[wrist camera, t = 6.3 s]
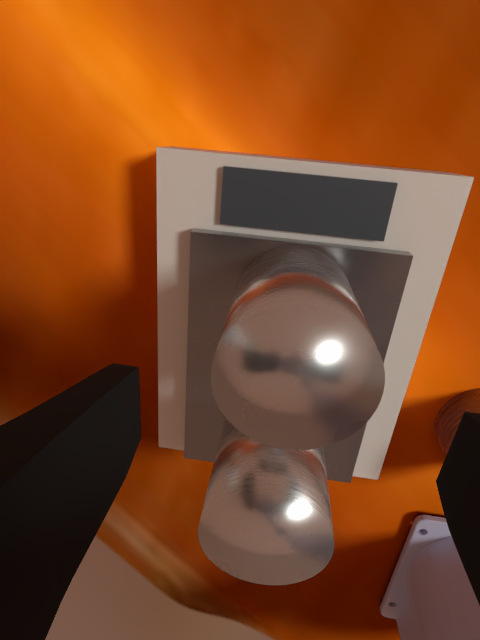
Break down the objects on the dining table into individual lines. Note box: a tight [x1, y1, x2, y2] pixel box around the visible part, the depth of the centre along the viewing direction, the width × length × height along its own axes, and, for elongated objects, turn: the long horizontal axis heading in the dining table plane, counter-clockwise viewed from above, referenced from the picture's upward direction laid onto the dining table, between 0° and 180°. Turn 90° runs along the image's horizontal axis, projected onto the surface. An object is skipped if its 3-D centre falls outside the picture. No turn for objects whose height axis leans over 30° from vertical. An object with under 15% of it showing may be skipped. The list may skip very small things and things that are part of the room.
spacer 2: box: [198, 417, 334, 585], centre depth 15 cm, size 4×4×6 cm
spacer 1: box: [211, 246, 385, 450], centre depth 12 cm, size 4×4×6 cm
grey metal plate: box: [184, 228, 413, 483], centre depth 17 cm, size 11×8×1 cm
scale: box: [156, 146, 474, 480], centre depth 17 cm, size 14×11×2 cm
